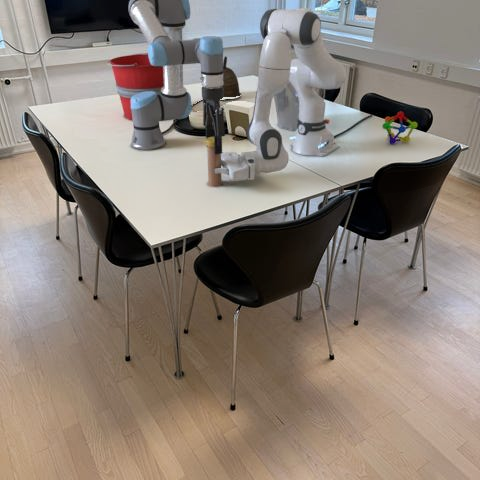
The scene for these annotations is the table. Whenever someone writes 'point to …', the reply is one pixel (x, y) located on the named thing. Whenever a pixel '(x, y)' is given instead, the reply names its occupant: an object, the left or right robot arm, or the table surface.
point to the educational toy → (398, 128)
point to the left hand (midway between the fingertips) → (214, 149)
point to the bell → (230, 81)
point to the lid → (210, 141)
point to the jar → (213, 162)
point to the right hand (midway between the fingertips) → (212, 167)
